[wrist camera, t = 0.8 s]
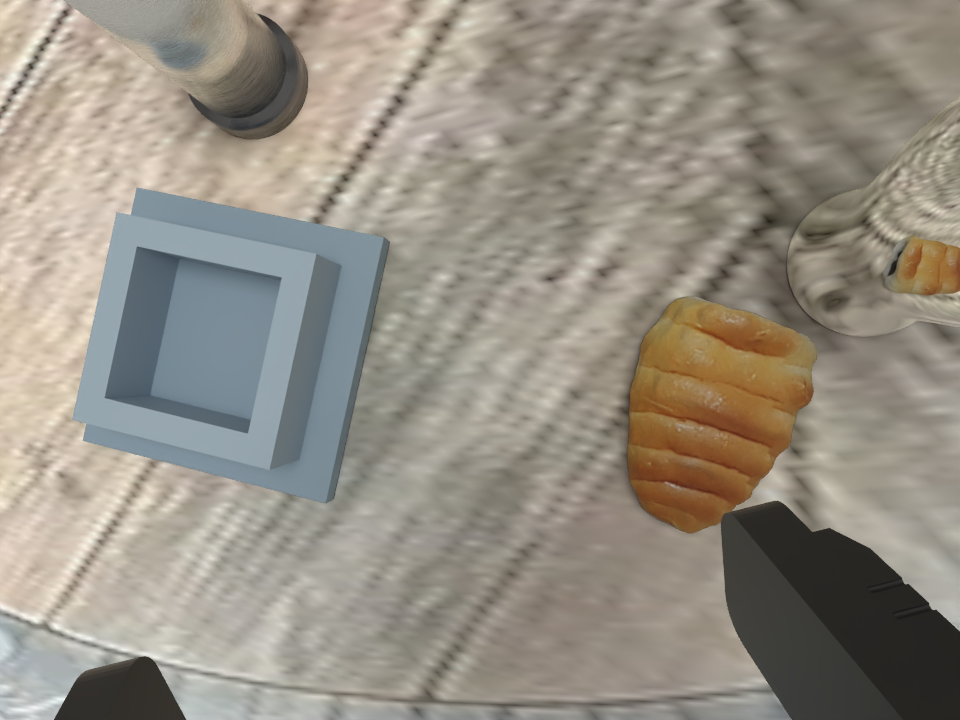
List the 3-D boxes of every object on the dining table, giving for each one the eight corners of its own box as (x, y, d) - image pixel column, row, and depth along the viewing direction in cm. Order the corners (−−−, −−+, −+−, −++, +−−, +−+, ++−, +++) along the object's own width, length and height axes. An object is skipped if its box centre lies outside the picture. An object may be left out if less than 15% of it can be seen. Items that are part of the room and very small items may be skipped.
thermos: (215, 21, 31) (2, -195, 19) (318, 38, 30) (164, -175, 18) (192, 128, 31) (-35, -21, 19) (294, 148, 30) (125, 6, 18)
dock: (150, 193, 31) (89, 167, 27) (389, 241, 29) (363, 221, 25) (98, 438, 31) (30, 448, 27) (333, 498, 30) (298, 518, 26)
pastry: (740, 545, 28) (767, 572, 24) (588, 490, 28) (592, 508, 25) (813, 337, 27) (853, 331, 24) (658, 288, 28) (672, 275, 24)
